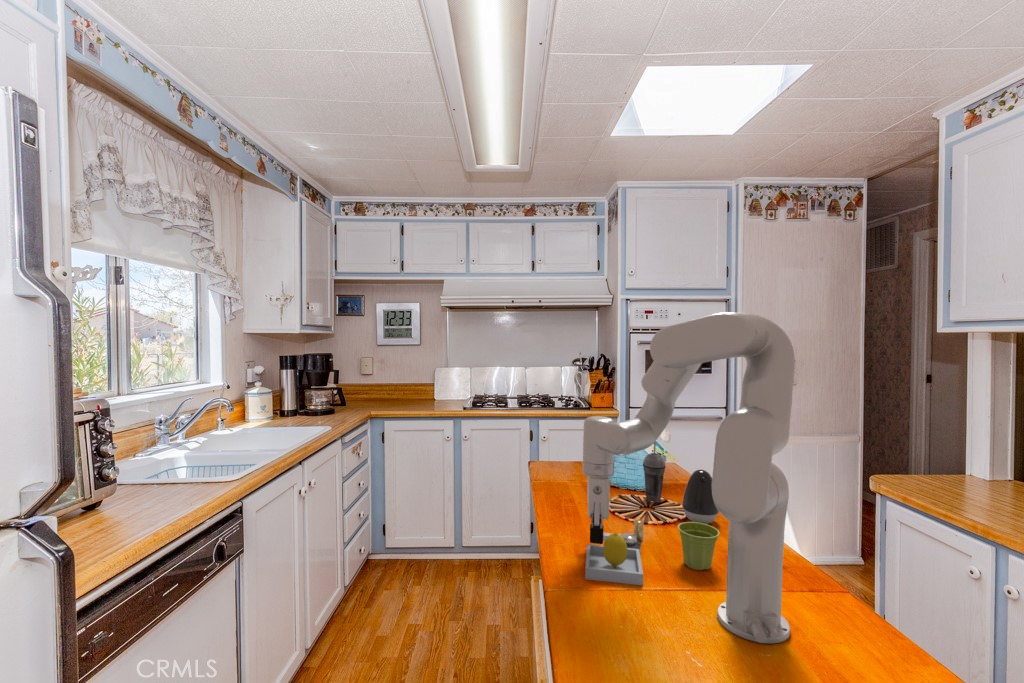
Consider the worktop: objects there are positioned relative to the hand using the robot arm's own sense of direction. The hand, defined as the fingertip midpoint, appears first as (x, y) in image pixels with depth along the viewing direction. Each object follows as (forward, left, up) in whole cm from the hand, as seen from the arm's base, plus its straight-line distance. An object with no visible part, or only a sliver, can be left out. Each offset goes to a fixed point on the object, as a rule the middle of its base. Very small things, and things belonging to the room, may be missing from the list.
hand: (596, 542), depth 121 cm
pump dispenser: (+31, -30, -4) cm, 44 cm away
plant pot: (+2, -24, -4) cm, 25 cm away
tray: (-4, -4, -4) cm, 7 cm away
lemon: (-4, -4, -4) cm, 7 cm away
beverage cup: (+46, -18, -4) cm, 50 cm away
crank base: (+9, -9, -4) cm, 13 cm away
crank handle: (+6, -4, -2) cm, 8 cm away
